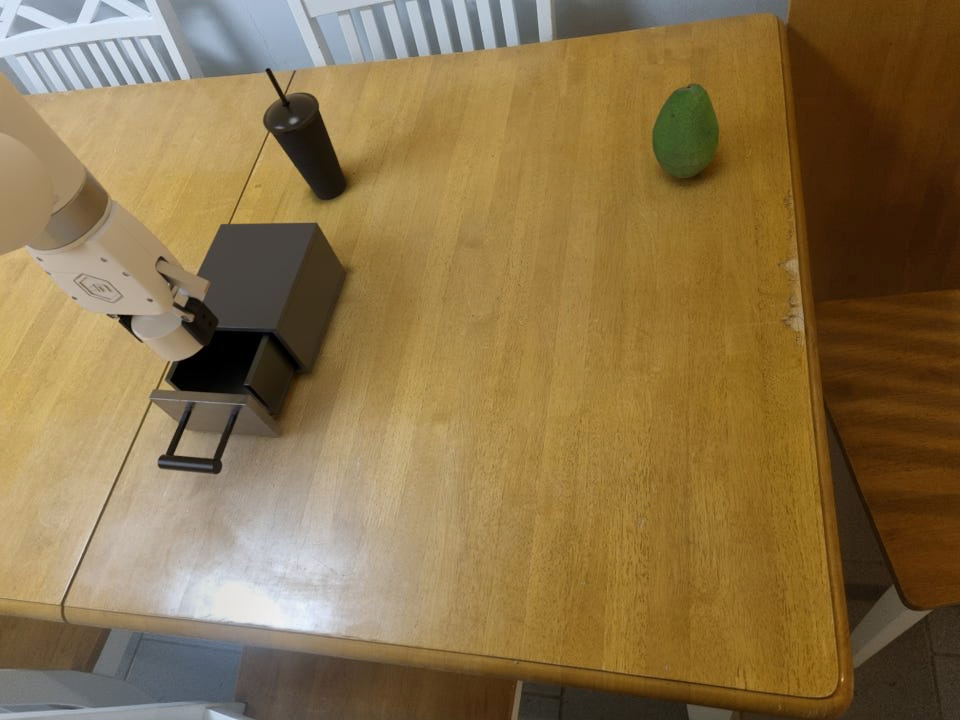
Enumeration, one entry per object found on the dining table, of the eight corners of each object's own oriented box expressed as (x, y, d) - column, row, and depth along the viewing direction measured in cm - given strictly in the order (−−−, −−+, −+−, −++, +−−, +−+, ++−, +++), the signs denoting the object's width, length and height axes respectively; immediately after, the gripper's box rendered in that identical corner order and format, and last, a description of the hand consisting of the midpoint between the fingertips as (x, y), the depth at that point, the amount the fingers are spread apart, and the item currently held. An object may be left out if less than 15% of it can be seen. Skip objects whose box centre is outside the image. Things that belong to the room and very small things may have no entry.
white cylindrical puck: (176, 372, 72) (152, 350, 68) (143, 342, 75) (119, 320, 72) (225, 326, 74) (204, 303, 70) (190, 299, 77) (169, 276, 73)
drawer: (259, 493, 80) (223, 464, 74) (164, 484, 83) (121, 454, 77) (316, 332, 91) (289, 294, 84) (230, 329, 94) (198, 292, 88)
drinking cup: (323, 215, 103) (256, 98, 87) (296, 191, 107) (228, 75, 91) (365, 184, 105) (308, 63, 88) (338, 161, 109) (278, 42, 93)
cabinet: (311, 373, 88) (275, 328, 81) (214, 368, 92) (171, 325, 84) (346, 272, 96) (317, 222, 88) (256, 271, 100) (220, 223, 92)
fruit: (727, 153, 93) (733, 73, 83) (703, 197, 90) (706, 119, 80) (667, 141, 96) (666, 62, 86) (642, 183, 93) (638, 106, 83)
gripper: (-48, 243, 60) (94, 360, 74) (125, 243, 55) (242, 368, 69) (-1, 176, 64) (126, 300, 78) (166, 171, 59) (268, 304, 73)
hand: (180, 331), depth 74 cm, fingers closed on white cylindrical puck, 6 cm apart
